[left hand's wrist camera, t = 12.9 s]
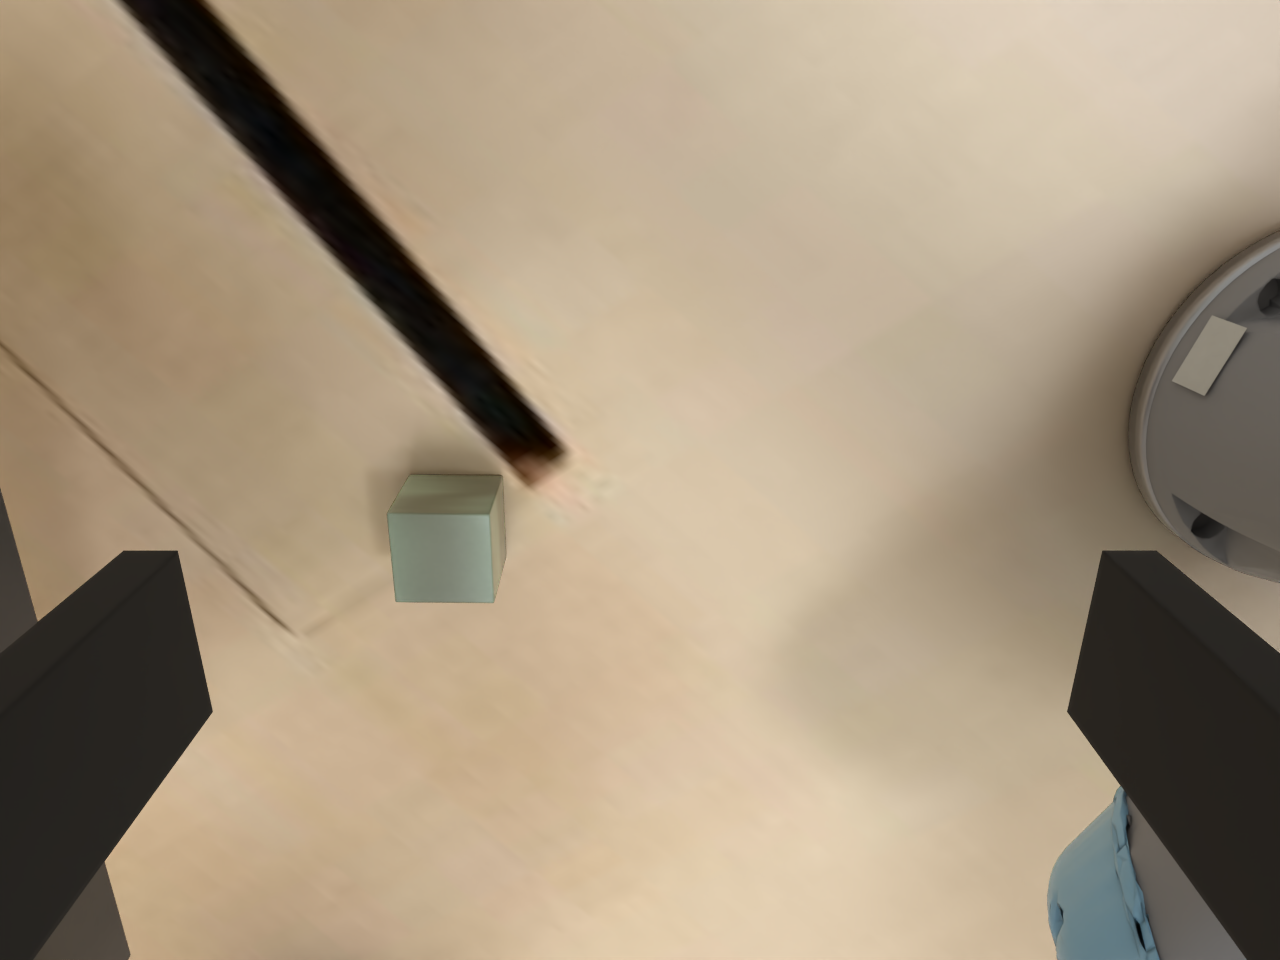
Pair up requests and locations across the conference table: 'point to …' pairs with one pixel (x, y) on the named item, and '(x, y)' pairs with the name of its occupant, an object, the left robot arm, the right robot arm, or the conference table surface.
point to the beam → (92, 929)
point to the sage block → (448, 538)
